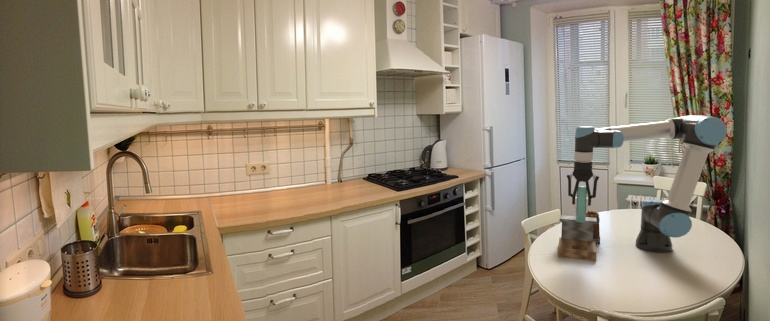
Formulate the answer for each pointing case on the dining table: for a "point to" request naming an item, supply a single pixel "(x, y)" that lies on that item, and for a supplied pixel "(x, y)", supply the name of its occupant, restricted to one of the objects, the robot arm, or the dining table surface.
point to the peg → (581, 204)
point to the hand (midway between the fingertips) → (581, 211)
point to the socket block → (577, 238)
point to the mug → (595, 226)
